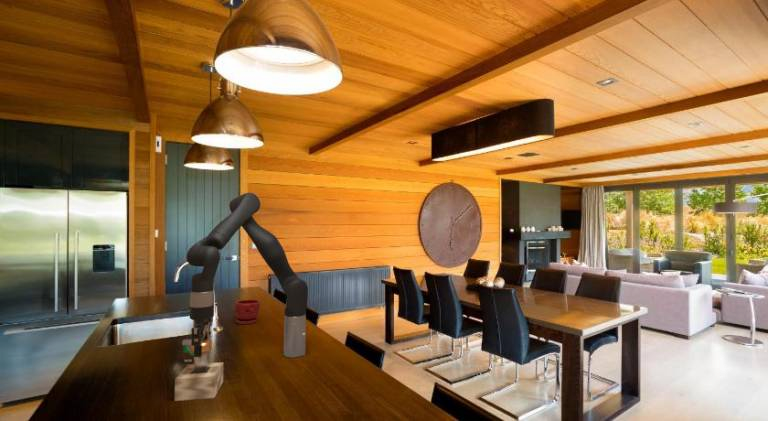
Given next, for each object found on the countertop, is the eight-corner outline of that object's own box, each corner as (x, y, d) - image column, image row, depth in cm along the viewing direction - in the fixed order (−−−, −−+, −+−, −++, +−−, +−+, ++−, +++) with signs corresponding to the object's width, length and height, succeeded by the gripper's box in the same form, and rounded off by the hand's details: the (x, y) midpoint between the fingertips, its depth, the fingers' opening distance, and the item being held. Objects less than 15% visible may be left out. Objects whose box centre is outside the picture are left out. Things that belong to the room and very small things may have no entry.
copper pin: (213, 365, 128) (213, 338, 128) (207, 373, 122) (208, 344, 122) (193, 366, 127) (194, 339, 127) (187, 374, 120) (188, 345, 121)
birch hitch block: (223, 381, 131) (223, 362, 131) (214, 397, 119) (214, 376, 119) (187, 384, 128) (187, 364, 129) (174, 401, 117) (175, 379, 117)
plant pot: (254, 325, 202) (255, 304, 202) (231, 325, 202) (231, 303, 202) (262, 319, 215) (263, 299, 215) (240, 319, 215) (241, 298, 215)
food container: (194, 366, 145) (195, 341, 145) (181, 364, 146) (182, 339, 146) (214, 355, 157) (215, 331, 157) (202, 354, 158) (203, 330, 158)
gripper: (208, 308, 118) (206, 360, 118) (219, 299, 133) (218, 345, 132) (183, 309, 117) (181, 361, 116) (197, 299, 131) (195, 346, 131)
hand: (201, 352), depth 124 cm, fingers closed on copper pin, 6 cm apart
